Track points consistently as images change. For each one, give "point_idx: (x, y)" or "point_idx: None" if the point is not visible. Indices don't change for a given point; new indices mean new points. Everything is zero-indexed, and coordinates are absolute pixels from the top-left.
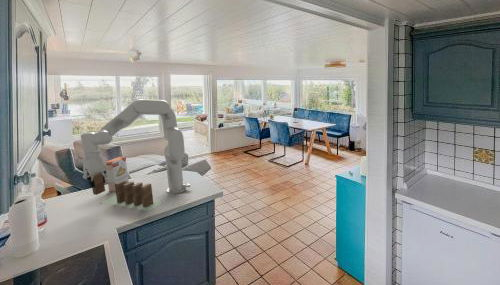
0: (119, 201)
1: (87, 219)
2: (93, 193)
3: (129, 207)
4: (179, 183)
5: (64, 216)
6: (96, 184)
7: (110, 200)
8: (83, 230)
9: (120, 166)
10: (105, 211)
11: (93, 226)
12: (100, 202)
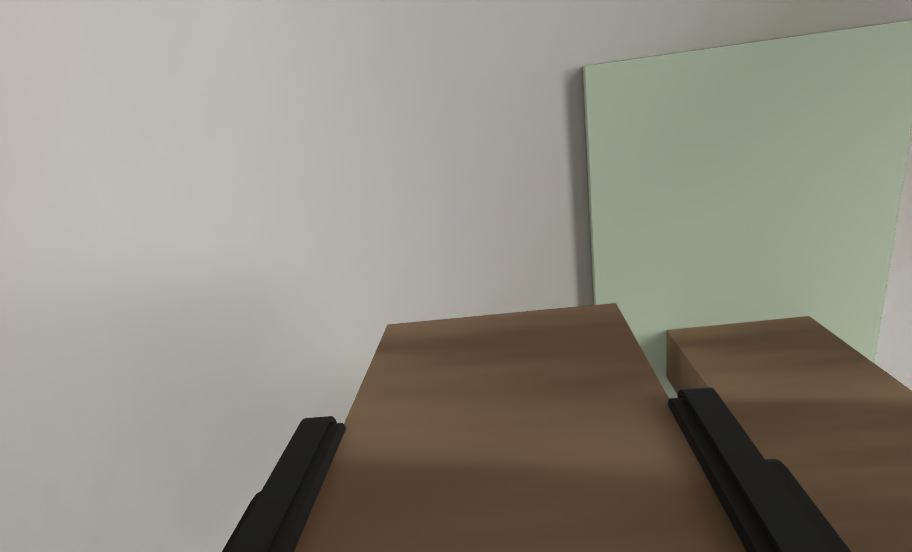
0: (674, 381)
1: (230, 385)
2: (385, 341)
3: None
4: None
5: (82, 34)
6: None
7: (706, 161)
8: (119, 537)
9: None
10: None
11: (202, 548)
12: (596, 80)
